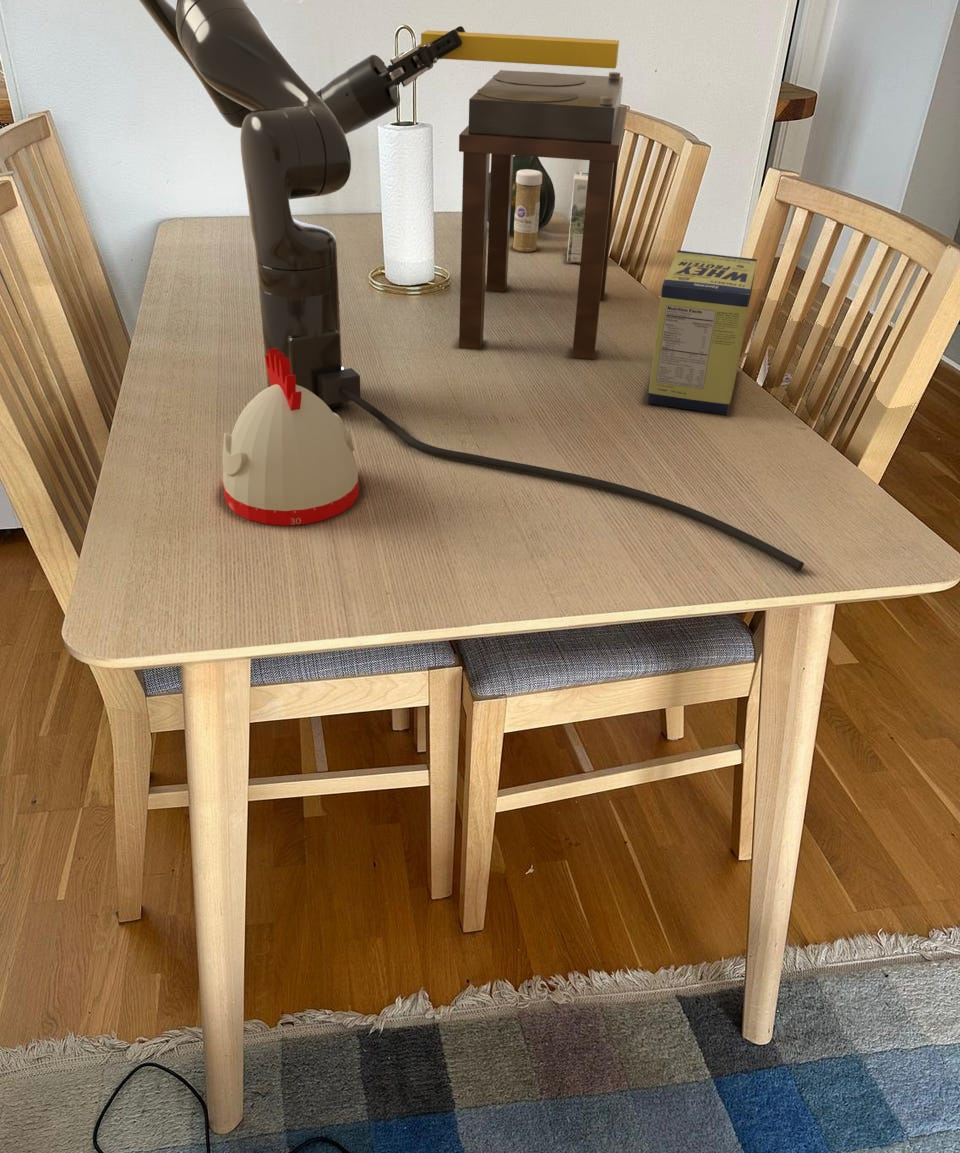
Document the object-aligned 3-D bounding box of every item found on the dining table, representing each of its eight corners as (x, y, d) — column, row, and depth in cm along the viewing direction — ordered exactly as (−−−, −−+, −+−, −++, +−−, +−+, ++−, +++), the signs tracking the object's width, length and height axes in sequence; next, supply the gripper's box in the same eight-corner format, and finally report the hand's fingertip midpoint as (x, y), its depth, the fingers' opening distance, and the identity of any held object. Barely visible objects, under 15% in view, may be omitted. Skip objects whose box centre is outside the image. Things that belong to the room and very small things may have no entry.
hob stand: (454, 348, 142) (459, 92, 124) (486, 283, 167) (494, 62, 148) (597, 361, 140) (623, 102, 122) (607, 293, 164) (630, 70, 146)
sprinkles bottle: (509, 250, 183) (513, 172, 176) (517, 244, 187) (521, 167, 179) (533, 253, 182) (538, 175, 175) (540, 247, 186) (545, 170, 178)
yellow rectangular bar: (420, 57, 140) (420, 33, 139) (427, 53, 144) (427, 30, 142) (615, 68, 137) (617, 43, 136) (616, 64, 141) (619, 40, 139)
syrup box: (599, 256, 182) (607, 171, 174) (599, 266, 177) (607, 179, 169) (567, 254, 182) (574, 169, 174) (566, 263, 178) (573, 177, 169)
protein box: (737, 371, 138) (758, 257, 130) (729, 416, 126) (751, 293, 117) (660, 361, 140) (676, 248, 132) (645, 405, 128) (661, 283, 119)
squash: (454, 203, 189) (508, 143, 180) (480, 189, 201) (532, 133, 193) (505, 261, 191) (561, 205, 183) (527, 244, 203) (581, 191, 195)
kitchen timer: (331, 452, 114) (323, 323, 106) (379, 507, 104) (376, 369, 96) (208, 476, 108) (191, 342, 100) (248, 537, 98) (232, 393, 90)
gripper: (333, 76, 139) (439, 10, 132) (359, 64, 151) (458, 3, 144) (361, 129, 142) (466, 67, 136) (384, 112, 154) (482, 55, 147)
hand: (461, 34), depth 140 cm, fingers closed on yellow rectangular bar, 4 cm apart
